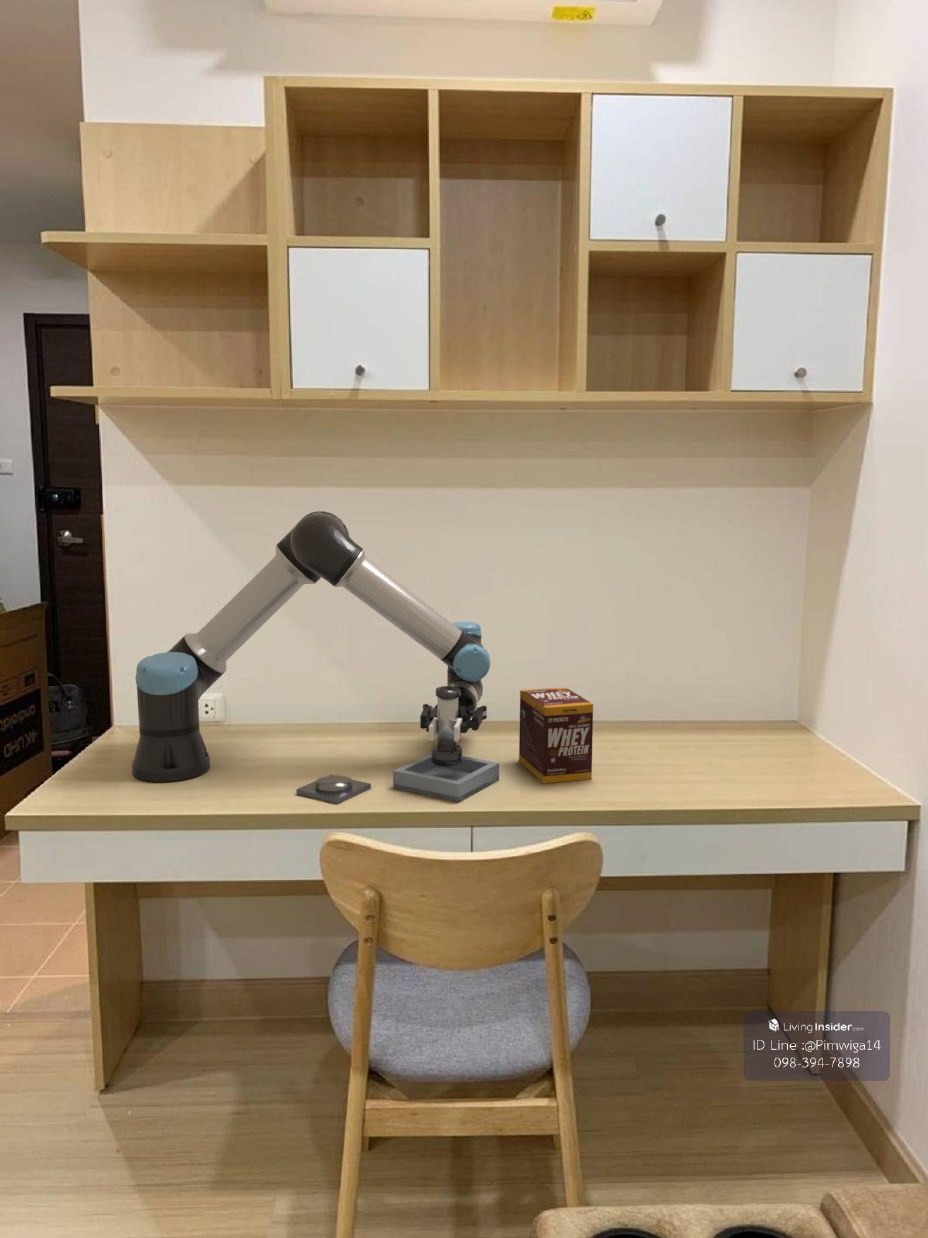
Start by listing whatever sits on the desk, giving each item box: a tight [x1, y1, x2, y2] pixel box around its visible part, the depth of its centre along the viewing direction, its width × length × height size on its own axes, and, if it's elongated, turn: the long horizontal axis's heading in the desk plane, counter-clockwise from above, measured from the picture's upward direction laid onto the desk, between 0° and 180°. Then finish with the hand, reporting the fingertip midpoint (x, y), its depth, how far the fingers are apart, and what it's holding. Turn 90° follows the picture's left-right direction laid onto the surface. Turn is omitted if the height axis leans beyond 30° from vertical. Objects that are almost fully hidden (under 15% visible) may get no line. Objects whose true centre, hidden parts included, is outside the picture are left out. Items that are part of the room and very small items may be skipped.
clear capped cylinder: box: [431, 685, 463, 767], centre depth 179 cm, size 6×6×14 cm
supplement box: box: [518, 687, 594, 784], centre depth 189 cm, size 10×15×16 cm
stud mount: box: [296, 774, 372, 805], centre depth 177 cm, size 10×10×2 cm
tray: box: [392, 753, 500, 803], centre depth 181 cm, size 15×15×4 cm
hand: (443, 733), depth 174 cm, fingers closed on clear capped cylinder, 4 cm apart
